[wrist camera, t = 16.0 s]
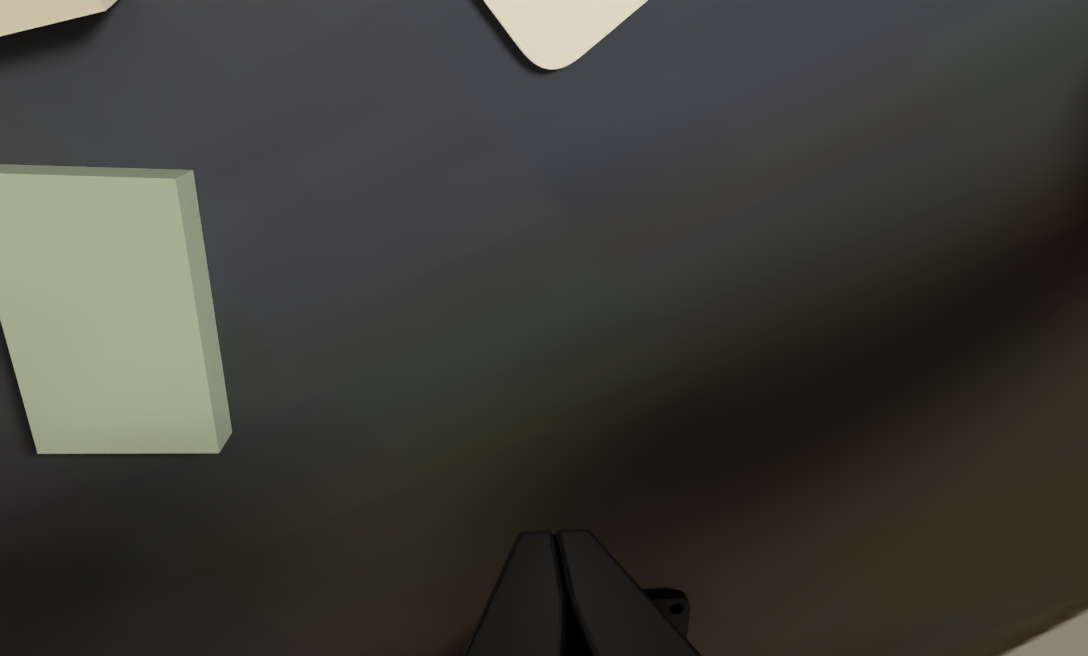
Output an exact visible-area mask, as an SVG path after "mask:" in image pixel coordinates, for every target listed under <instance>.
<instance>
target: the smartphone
mask: <svg viewBox="0 0 1088 656" xmlns="http://www.w3.org/2000/svg"><path fill="white" fill-rule="evenodd" d="M483 1H484V2H485V4H486V5H487V6H488V8H489V9H490V10H491V12H492V13H493V14H494V16H495V17H496V18H497V20H498V21H499V22H500V24H501V25H502V26H503V28H504V29H505V30H506V32H507V33H508V34H509V36H510V37H511V38H512V40H513V41H514V42H515V44H516V45H517V46H518V48H519V49H520V50H521V51H522V53H523V54H524V55H525V56H526V57H527V58H528V59H529V60H530V61H531V62H533V63H534V64H535V65H537V66H539V67H541V68H544V69H548V70H555V69H560V68H563V67H566V66H568V65H569V64H571V63H573V62H574V61H576V60H577V59H578V58H580V57H581V56H582V55H583V54H585V53H586V52H587V51H588V50H589V49H591V48H592V47H593V46H594V45H595V44H597V43H598V42H599V41H600V40H601V39H603V38H604V37H605V36H606V35H607V34H608V33H610V32H611V31H612V30H613V29H614V28H616V27H617V26H618V25H619V24H620V23H622V22H623V21H624V20H625V19H626V18H627V17H629V16H630V15H631V14H632V13H633V12H635V11H636V10H637V9H638V8H639V7H641V6H642V5H643V4H644V3H645V2H646V1H648V0H483Z"/></svg>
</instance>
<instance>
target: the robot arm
mask: <svg viewBox="0 0 1088 656" xmlns="http://www.w3.org/2000/svg"><path fill="white" fill-rule="evenodd" d="M677 603H678V604H677ZM673 604H677V605H675V606H672V605H673ZM689 614H690V604H689V601H688V598H687V596H686V594H685V593H684V592H682V591H680V590H665V591H648V592H644V591H643V590H642V589H641V587H640V586H639V585H638V584H637V583H636V582H635V581H634V580H633V579H632V577H631V576H630V575H629V574H628V573H627V572H626V571H625V570H624V568H623V567H622V566H621V565H620V564H619V563H618V562H617V561H616V560H615V558H614V557H613V556H612V555H611V554H610V553H609V552H608V551H607V549H606V548H605V547H604V546H603V545H602V544H601V543H600V542H599V541H598V539H597V538H596V537H595V536H594V535H593V534H592V533H591V532H590V531H589V530H587V529H563V530H558V531H556V532H555V534H554V535H553V533H552V532H551V531H549V530H543V531H524V532H521V533H520V534H519V535H518V536H517V538H516V540H515V543H514V545H513V547H512V549H511V551H510V553H509V555H508V558H507V560H506V562H505V564H504V566H503V568H502V571H501V573H500V575H499V577H498V579H497V581H496V583H495V586H494V588H493V590H492V592H491V594H490V596H489V598H488V601H487V603H486V605H485V607H484V609H483V611H482V614H481V616H480V618H479V620H478V622H477V624H476V626H475V629H474V631H473V633H472V635H471V637H470V639H469V641H468V644H467V646H466V648H465V650H464V652H463V654H462V656H701V655H700V653H699V652H698V651H697V650H696V649H695V648H694V647H693V646H692V645H691V643H690V642H689V641H688V640H687V631H688V622H689Z"/></svg>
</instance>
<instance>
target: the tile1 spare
mask: <svg viewBox="0 0 1088 656" xmlns="http://www.w3.org/2000/svg"><path fill="white" fill-rule="evenodd" d="M0 320H1V324H2V328H3V331H4V335H5V338H6V342H7V346H8V349H9V353H10V356H11V360H12V364H13V367H14V371H15V374H16V378H17V381H18V385H19V389H20V392H21V396H22V399H23V403H24V407H25V410H26V414H27V417H28V421H29V425H30V428H31V432H32V435H33V439H34V443H35V446H36V450H37V453H38V454H139V453H220V451H221V449H222V448H223V446H224V445H225V443H226V441H227V440H228V438H229V437H230V435H231V433H232V428H231V421H230V415H229V408H228V401H227V395H226V388H225V381H224V375H223V368H222V361H221V354H220V348H219V341H218V334H217V328H216V321H215V314H214V308H213V301H212V294H211V287H210V281H209V274H208V267H207V261H206V254H205V247H204V241H203V234H202V227H201V221H200V214H199V207H198V200H197V194H196V187H195V180H194V174H193V170H173V169H139V168H105V167H72V166H38V165H4V164H0Z"/></svg>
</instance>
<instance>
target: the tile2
mask: <svg viewBox="0 0 1088 656" xmlns="http://www.w3.org/2000/svg"><path fill="white" fill-rule="evenodd" d="M116 1H117V0H0V36H4V35H8V34H12V33H16V32H21V31H25V30H29V29H33V28H37V27H41V26H45V25H49V24H54V23H58V22H62V21H66V20H70V19H74V18H78V17H82V16H87V15H91V14H95V13H99V12H103V11H106V10H107V9H108V8H109V7H110V6H112V5H113V4H114V3H115V2H116Z"/></svg>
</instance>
